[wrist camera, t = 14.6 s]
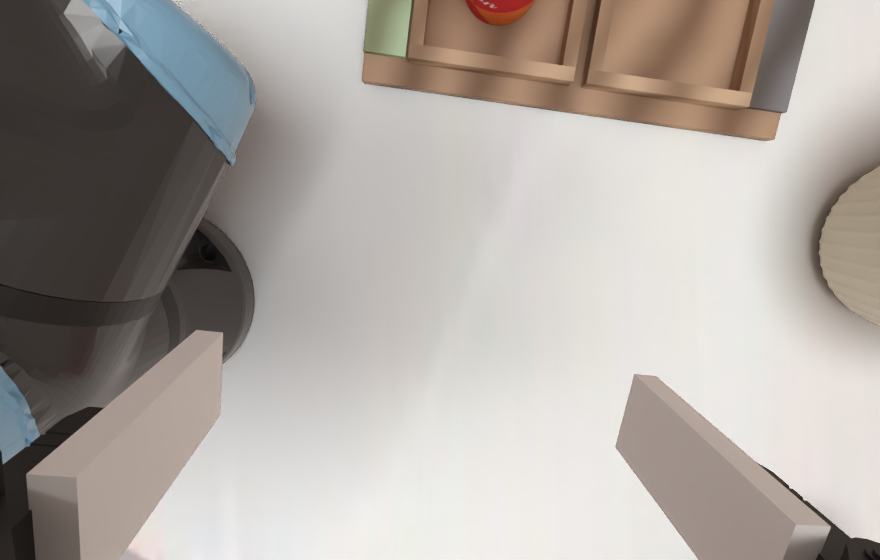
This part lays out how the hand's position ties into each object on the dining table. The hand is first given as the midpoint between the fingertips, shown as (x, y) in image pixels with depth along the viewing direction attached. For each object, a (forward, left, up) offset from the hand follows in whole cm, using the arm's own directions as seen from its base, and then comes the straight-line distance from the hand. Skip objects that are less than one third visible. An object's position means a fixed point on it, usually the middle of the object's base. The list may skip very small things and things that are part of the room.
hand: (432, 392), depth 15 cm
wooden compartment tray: (+9, +22, -26) cm, 35 cm away
